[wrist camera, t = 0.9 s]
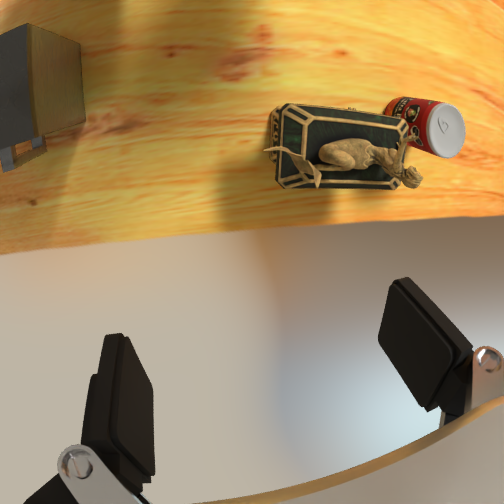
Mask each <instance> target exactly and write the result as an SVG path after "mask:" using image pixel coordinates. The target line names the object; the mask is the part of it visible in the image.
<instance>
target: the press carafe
mask: <svg viewBox="0 0 504 504" xmlns="http://www.w3.org/2000/svg"><path fill="white" fill-rule="evenodd" d="M84 121H86V116H85V107H84V97H83V85H82V72H81V52H80V44H78V43H76V42H74V41H71V40H69V39H67V38H64V37H62V36H59V35H57V34H54V33H52V32H49V31H47V30H44V29H42V28H39V27H37V26H34V25H31V24H29V23H26V24H24V25H21V26H19V27H17V28H15V29H12V30H10V31H8V32H6V33H4V34H2V35H0V159H1V164H2V169H3V173H4V172H7V171H10V170H13V169H15V168H17V167H19V166H21V165H23V164H24V163H26V162H28V161H30V160H32V159H34V158H36V157H38V156H40V155H41V154H43V153H45V152H47V147H46V141H45V134H48V133H51V132H53V131H56V130H59V129H62V128H65V127H68V126H71V125H74V124H78V123H81V122H84ZM28 140H31V142H32V149H30V150H28V151H26V152H24V153H22V154H19V155H16V149H15V145H16V144H19V143H22V142H25V141H28Z"/></svg>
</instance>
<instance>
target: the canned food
mask: <svg viewBox="0 0 504 504" xmlns="http://www.w3.org/2000/svg"><path fill="white" fill-rule="evenodd" d="M385 115H387V116H393V117H398V118H403V119H405V120H406V122H407V124H408V126H409V128H408V136H409V135H410V136H411V135H412V134H413V133H415V135H414V136H413V137H414V138H415V137H416V136H417V137H418V136H419V137H418V139H416V140H413V141H409V142H407V144H406V145H409V146H412V147H415V148H418V149H420V150H423V151H426V152H428V153H431V154H434V155H436V156H439V157H442V158H452V157H454V156H455V155H457V154H458V153H459V151H460V150H461V148H462V146H463V144H464V140H465V123H464V120H463V117H462V115H461V113H460V112H459V110H458V109H457V108H456V107H454V106H453V105H450V104H447V103H443V102H438V101H432V100H425V99H418V98H411V97H399V98H396V99H394V100H392V101H391V102H390V103H389V104H388V106H387V108H386V111H385ZM408 136H407V137H408Z"/></svg>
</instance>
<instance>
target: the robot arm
mask: <svg viewBox="0 0 504 504" xmlns="http://www.w3.org/2000/svg"><path fill="white" fill-rule="evenodd" d="M378 342H379V344H380V346H381V347H382V349H383V350H384V352H385V353H386V355H387V356H388V357H389V359H390V361H391V362H392V364H393V365H394V367H395V368H396V370H397V371H398V373H399V374H400V376H401V377H402V379H403V381H404V382H405V384H406V385H407V387H408V388H409V390H410V391H411V393H412V395H413V396H414V398H415V399H416V401H417V402H418V404H419V405H420V406H421V407H424V408H425V410H426V411H427V412H429V411H431V410H433V409H435V408H437V407H438V406H439V407H440V408H441V410H442V412H441V418H440V424H439V429H437V430H435V431H433V432H431V433H430V434H428V435H426V436H424V437H422V438H420V439H418V440H416V441H414V442H412V443H410V444H408V445H405V446H403V447H401V448H399V449H397V450H395V451H392V452H390V453H388V454H385V455H383V456H381V457H378V458H376V459H373V460H371V461H368V462H366V463H363V464H361V465H358V466H355V467H352V468H350V469H347V470H344V471H341V472H339V473H335V474H332V475H329V476H326V477H323V478H320V479H316V480H313V481H309V482H306V483H302V484H298V485H295V486H291V487H287V488H283V489H279V490H274V491H270V492H265V493H260V494H255V495H250V496H244V497H238V498H232V499H226V500H218V501H211V502H203V503H194V504H504V358H503V356H502V354H501V353H500V352H499V351H497V350H496V349H494V348H492V347H489V346H482V347H479V348H477V349H476V350H475V352H474V351H473V350H472V348H473V345H472V344H471V343H470V342H469V341H468V340H467V339H466V337H465V336H464V335H463V334H462V333H461V332H460V331H459V329H458V328H457V327H456V326H455V325H454V324H453V323H452V322H451V321H450V320H449V319H448V317H447V316H446V315H445V314H444V313H443V312H442V311H441V310H440V309H439V308H438V307H437V305H436V304H435V303H434V302H433V301H431V299H430V298H429V297H428V296H427V295H426V294H425V293H424V292H423V291H422V290H421V289H420V288H419V287H418V286H417V285H416V284H415V283H414V282H413V281H412V280H411V279H410V278H409V277H405V278H401V279H397V280H394V281H393V283H392V285H391V286H390V287H389V291H388V296H387V300H386V305H385V309H384V313H383V318H382V322H381V326H380V330H379V334H378ZM57 466H58V472H59V473H58V474H57V475H55V476H54V477H53V478H52V479H51V480H50V481H48V482H47V483H46V484H45V485H44V486H42V487H41V488H40V489H39V490H38V491H36V492H35V493H34V494H33V495H32V496H30V497H29V498H28V499H27V500H26V501H25V502H24V503H23V504H152V503H151V502H150V501H149V500H148V499H147V498H146V497H145V496H144V495H143V494H142V493H141V492H142V491H143V486H142V483H151V476H154V475H155V455H154V419H153V388H152V385H151V382H150V380H149V378H148V376H147V374H146V372H145V370H144V368H143V366H142V364H141V362H140V360H139V358H138V356H137V354H136V352H135V350H134V347H133V345H132V343H131V341H130V339H129V337H124V335H123V334H122V333H117V334H109V335H106V336H105V338H104V342H103V347H102V352H101V357H100V362H99V368H98V373H97V374H93V375H92V376H91V379H90V384H89V389H88V395H87V401H86V408H85V415H84V421H83V428H82V437H81V445H79V444H77V445H71V446H70V447H68V448H66V449H65V450H64V451H63V452H62V453H61V455H60V456H59V458H58V463H57Z"/></svg>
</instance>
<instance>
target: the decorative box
mask: <svg viewBox="0 0 504 504" xmlns="http://www.w3.org/2000/svg"><path fill="white" fill-rule="evenodd" d="M408 128H409V126H408V124H407V122H406V120H405V119H403V118H398V117H393V116H387V115H381V114H375V113H369V112H363V111H356V109H355V108H353V110H351V108H349V107H348V109H341V108H333V107H323V106H313V105H302V104H288V103H287V104H285V105H284V106H283V107H277V108H276V109H274V110H273V111H272V113H271V135H270V148H267V149H264V150H263V151H265V152H266V151H270V156H269V158H270V159H271V160H272V161H273V162H274V163H275V164H276V175H275V180H276V181H277V182H278V183H279V184H280V185H281V186H282V187H283V188H284V189H305V188H323V189H379V190H395V189H396V188H397V187H398V186H399V185H400V184H401V181H402V182H403V184H404V185H405V186H406V187H409V188H413V189H414V188H417V187H418V186H419V185H420V182H421V181H422V180H423V177H422V176H421V175H420V173H419V172H417V170H416V168H414V167H413V166H410V167H409V168H408V169H405V168H404V159H405V152H406V144H407V142H409V141H413V140H416V139H418V137H419V136H418V137H417V136H416V137H415V138H414V137H413V136H414V135H415V133H413V134H412V135H411V136H410V135H409V136H408ZM407 136H408V137H407Z"/></svg>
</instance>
